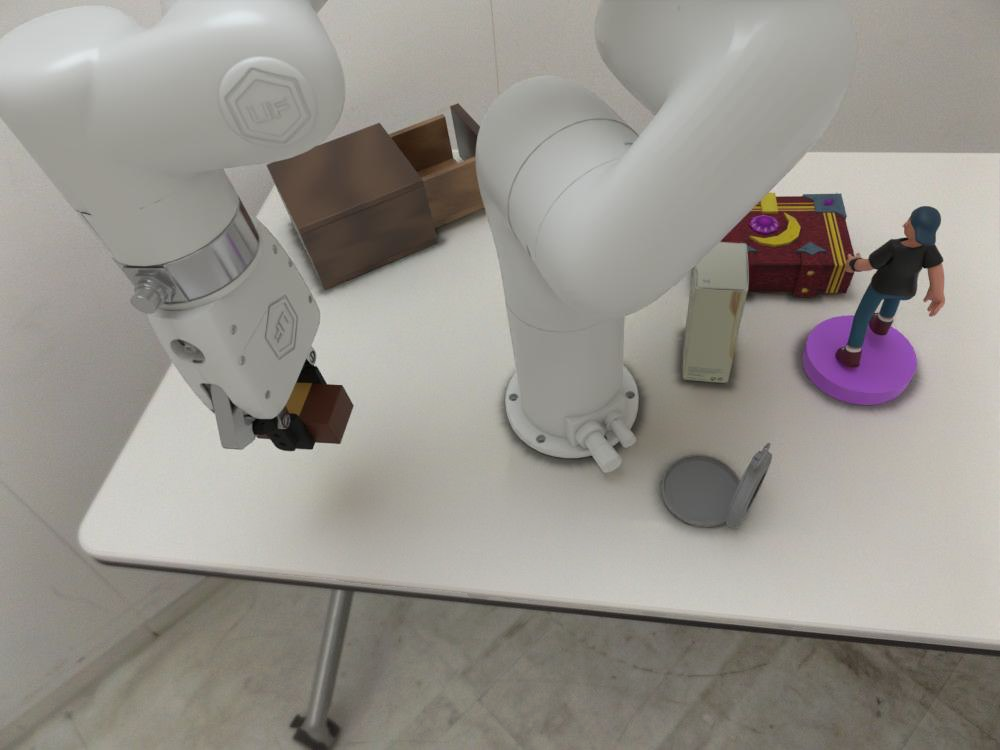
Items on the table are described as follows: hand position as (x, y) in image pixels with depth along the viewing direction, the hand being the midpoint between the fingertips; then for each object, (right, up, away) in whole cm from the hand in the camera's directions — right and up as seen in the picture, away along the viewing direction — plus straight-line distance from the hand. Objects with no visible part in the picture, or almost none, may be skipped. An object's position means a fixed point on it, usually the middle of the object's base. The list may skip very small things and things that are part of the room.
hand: (305, 420), depth 54 cm
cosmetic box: (+36, +5, +14) cm, 38 cm away
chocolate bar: (0, 0, 0) cm, 0 cm away
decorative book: (+44, +16, +21) cm, 51 cm away
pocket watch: (+33, -7, +4) cm, 34 cm away
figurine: (+49, +4, +11) cm, 50 cm away
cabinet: (-2, +21, +32) cm, 38 cm away
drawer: (+10, +27, +34) cm, 45 cm away
